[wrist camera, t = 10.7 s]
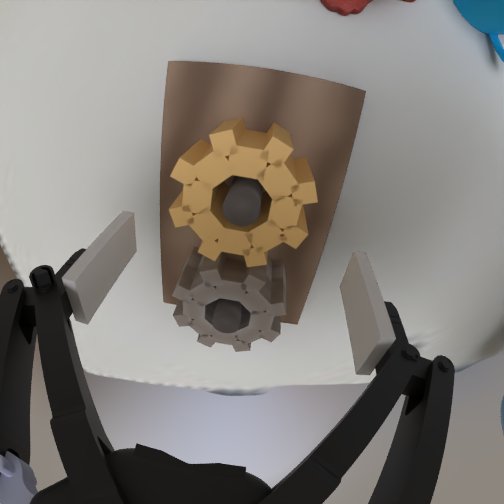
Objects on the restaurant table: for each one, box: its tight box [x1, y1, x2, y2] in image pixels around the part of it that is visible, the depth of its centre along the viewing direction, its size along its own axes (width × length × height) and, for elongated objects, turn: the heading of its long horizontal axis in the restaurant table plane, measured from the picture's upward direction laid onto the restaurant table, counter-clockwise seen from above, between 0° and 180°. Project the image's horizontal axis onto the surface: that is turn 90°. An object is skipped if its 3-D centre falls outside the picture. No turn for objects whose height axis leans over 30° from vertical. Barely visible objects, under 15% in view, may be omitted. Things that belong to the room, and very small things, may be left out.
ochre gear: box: [169, 117, 318, 267], centre depth 22 cm, size 10×10×6 cm
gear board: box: [160, 61, 366, 352], centre depth 25 cm, size 16×26×9 cm, turn 172°
